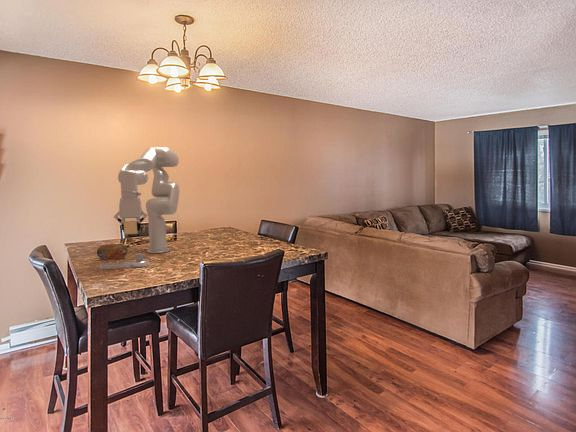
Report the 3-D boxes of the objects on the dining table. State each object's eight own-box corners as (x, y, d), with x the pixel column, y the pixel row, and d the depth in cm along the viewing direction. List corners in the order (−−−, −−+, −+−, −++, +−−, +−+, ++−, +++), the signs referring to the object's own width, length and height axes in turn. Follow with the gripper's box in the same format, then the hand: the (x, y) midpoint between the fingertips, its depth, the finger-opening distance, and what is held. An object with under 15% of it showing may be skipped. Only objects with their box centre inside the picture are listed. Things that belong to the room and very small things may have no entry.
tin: (97, 260, 194) (96, 245, 193) (99, 259, 197) (98, 243, 196) (127, 259, 197) (126, 243, 196) (128, 257, 200) (127, 242, 199)
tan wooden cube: (126, 232, 184) (125, 220, 183) (138, 231, 186) (138, 220, 185) (124, 234, 178) (123, 222, 177) (137, 233, 180) (136, 221, 179)
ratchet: (102, 266, 182) (101, 254, 181) (149, 262, 189) (149, 251, 188) (98, 271, 173) (97, 258, 172) (148, 267, 180) (148, 255, 179)
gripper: (148, 194, 186) (150, 229, 188) (112, 195, 181) (114, 230, 183) (147, 195, 178) (149, 231, 181) (109, 196, 174) (111, 233, 176)
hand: (131, 230), depth 182 cm, fingers closed on tan wooden cube, 6 cm apart
